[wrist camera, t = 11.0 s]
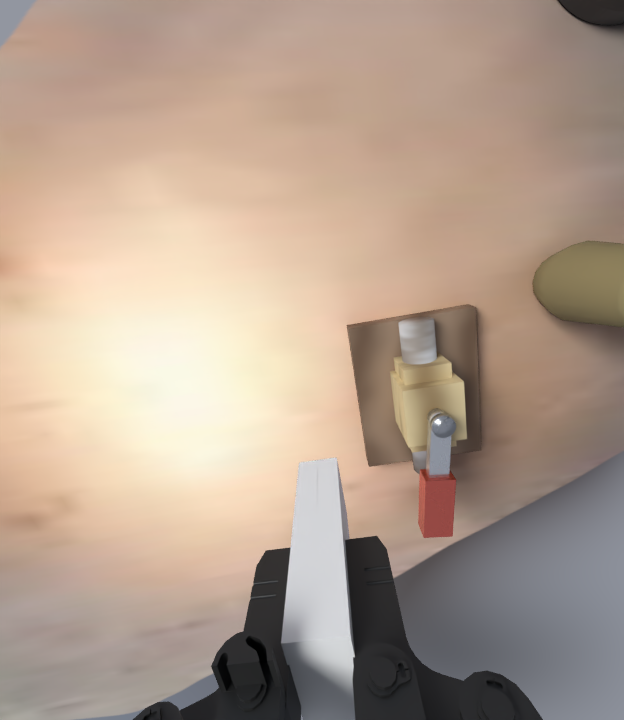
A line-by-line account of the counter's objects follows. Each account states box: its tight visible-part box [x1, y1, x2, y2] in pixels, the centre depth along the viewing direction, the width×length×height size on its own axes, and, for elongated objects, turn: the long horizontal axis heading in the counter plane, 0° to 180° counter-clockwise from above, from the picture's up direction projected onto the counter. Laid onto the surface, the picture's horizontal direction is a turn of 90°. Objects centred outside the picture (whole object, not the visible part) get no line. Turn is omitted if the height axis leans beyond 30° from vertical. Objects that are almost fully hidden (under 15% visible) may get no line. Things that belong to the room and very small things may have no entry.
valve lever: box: [418, 408, 456, 538], centre depth 35 cm, size 14×3×2 cm, turn 4°
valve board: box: [347, 305, 481, 474], centre depth 39 cm, size 14×18×8 cm
